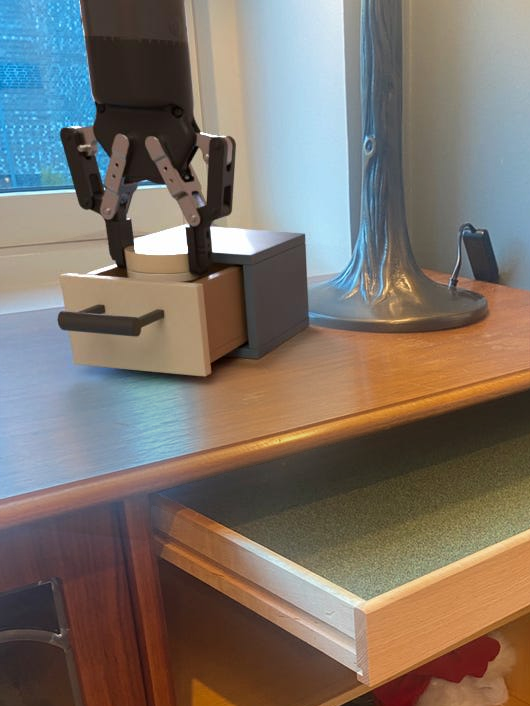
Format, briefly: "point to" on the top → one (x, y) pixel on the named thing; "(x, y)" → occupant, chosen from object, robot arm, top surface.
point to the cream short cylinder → (158, 262)
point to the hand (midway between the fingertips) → (162, 269)
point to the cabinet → (259, 281)
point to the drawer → (154, 319)
